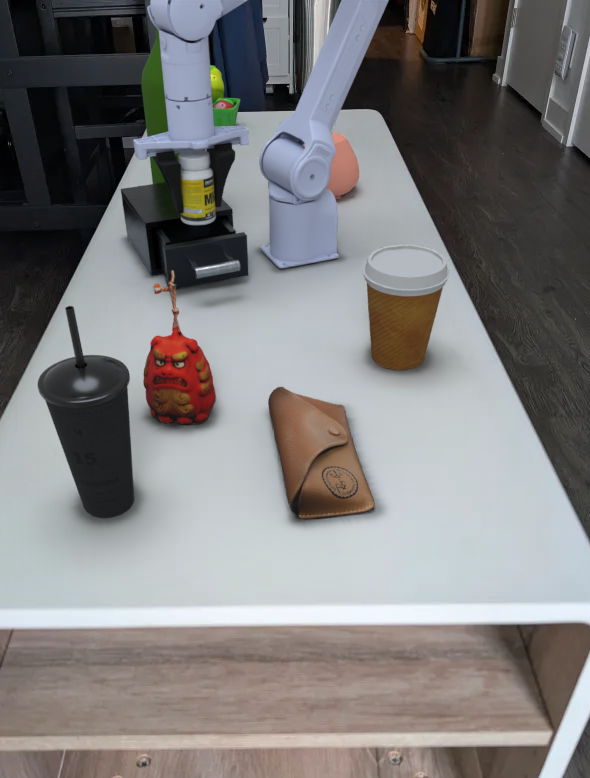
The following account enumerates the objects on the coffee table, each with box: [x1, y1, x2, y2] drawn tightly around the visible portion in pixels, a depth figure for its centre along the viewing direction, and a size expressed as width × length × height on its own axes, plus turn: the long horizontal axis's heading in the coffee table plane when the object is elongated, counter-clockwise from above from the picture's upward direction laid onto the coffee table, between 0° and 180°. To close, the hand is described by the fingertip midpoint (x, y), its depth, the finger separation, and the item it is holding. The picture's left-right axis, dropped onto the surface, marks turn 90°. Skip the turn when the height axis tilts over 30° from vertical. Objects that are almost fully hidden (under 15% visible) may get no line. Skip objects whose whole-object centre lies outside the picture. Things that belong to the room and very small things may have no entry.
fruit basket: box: [210, 64, 241, 127], centre depth 163 cm, size 11×9×11 cm
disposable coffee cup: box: [362, 244, 451, 371], centre depth 91 cm, size 10×10×12 cm
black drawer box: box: [120, 182, 234, 277], centre depth 118 cm, size 15×13×8 cm
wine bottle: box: [140, 26, 206, 184], centre depth 121 cm, size 9×9×32 cm
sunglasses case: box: [267, 386, 376, 520], centre depth 79 cm, size 18×7×7 cm
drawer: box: [152, 216, 249, 290], centre depth 110 cm, size 18×11×6 cm, turn 21°
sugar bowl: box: [303, 129, 360, 200], centre depth 134 cm, size 12×14×10 cm
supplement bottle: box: [178, 150, 216, 225], centre depth 104 cm, size 5×5×8 cm
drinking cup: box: [37, 305, 135, 519], centre depth 69 cm, size 8×8×20 cm
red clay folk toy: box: [143, 270, 217, 426], centre depth 82 cm, size 8×7×15 cm
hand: (197, 207), depth 106 cm, fingers closed on supplement bottle, 5 cm apart
